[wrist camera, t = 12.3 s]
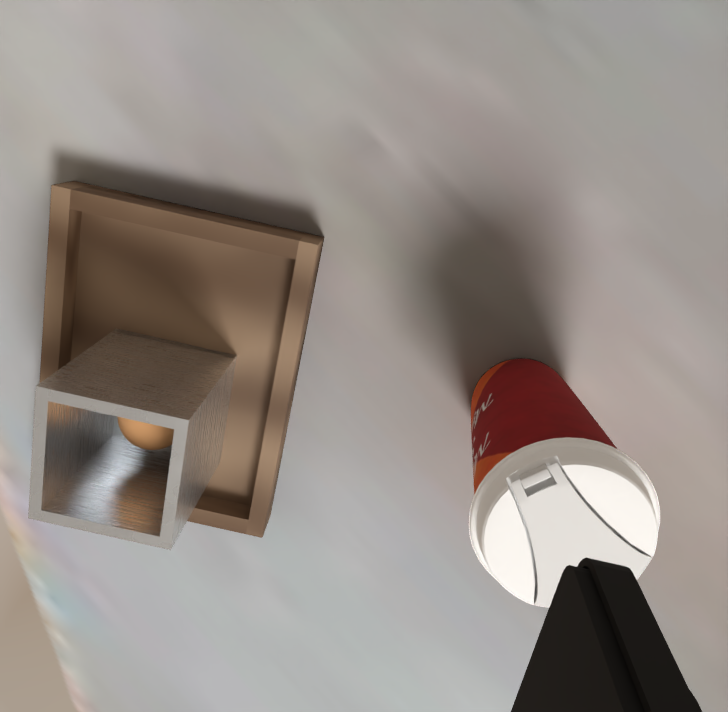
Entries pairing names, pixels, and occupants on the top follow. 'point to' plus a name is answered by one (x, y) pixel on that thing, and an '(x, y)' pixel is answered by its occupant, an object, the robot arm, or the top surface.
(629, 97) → the top surface
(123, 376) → the square metal container
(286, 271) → the walnut tray
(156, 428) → the mixing ball
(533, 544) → the paper cup
